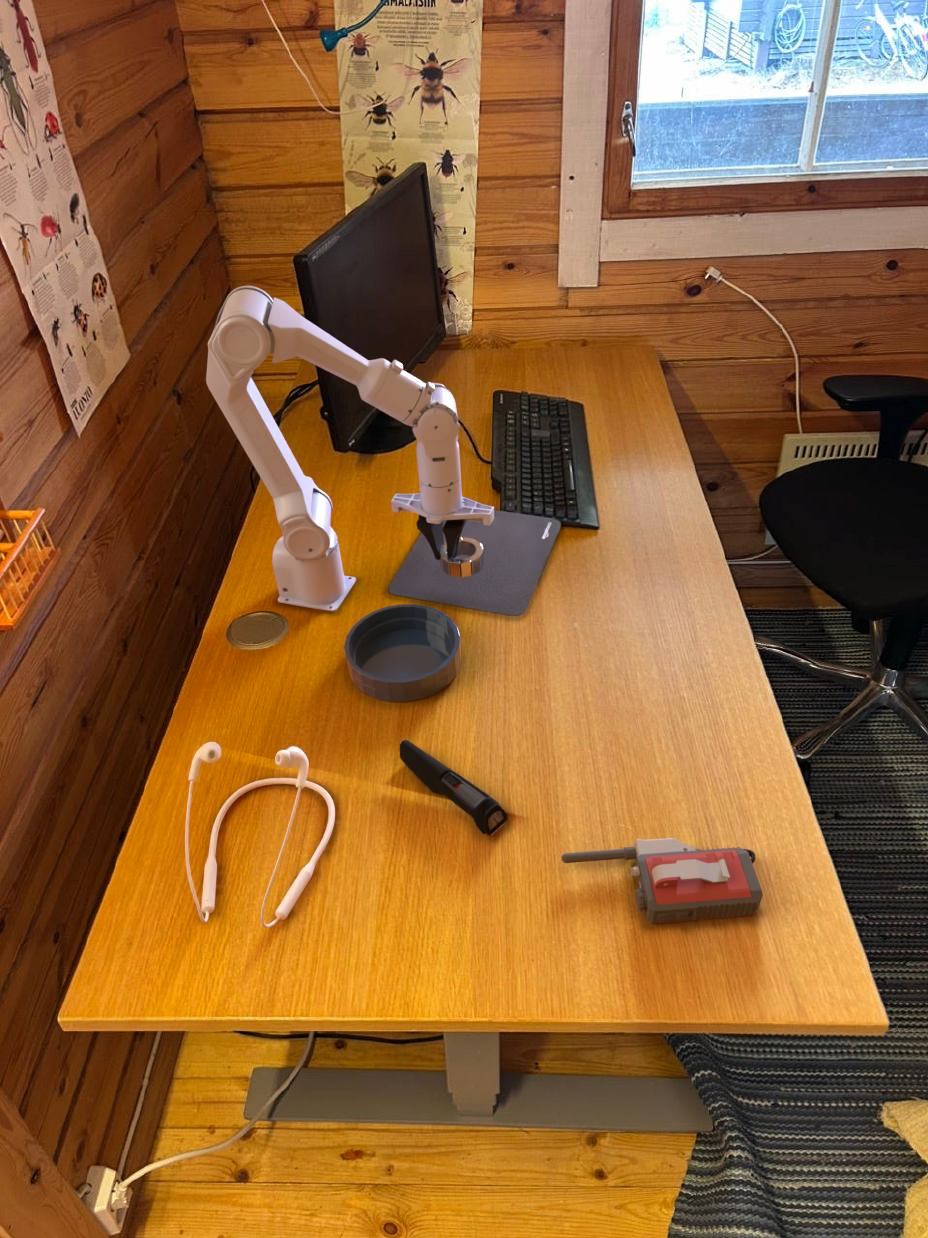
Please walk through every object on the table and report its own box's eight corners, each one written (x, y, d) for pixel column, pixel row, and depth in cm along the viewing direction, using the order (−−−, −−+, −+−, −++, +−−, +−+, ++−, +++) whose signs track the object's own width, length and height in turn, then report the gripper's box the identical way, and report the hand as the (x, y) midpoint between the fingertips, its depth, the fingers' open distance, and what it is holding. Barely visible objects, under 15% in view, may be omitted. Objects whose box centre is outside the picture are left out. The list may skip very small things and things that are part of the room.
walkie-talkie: (745, 842, 92) (559, 856, 92) (752, 817, 90) (560, 832, 89) (771, 917, 86) (572, 933, 86) (780, 893, 83) (573, 909, 83)
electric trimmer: (417, 747, 105) (414, 730, 103) (510, 819, 96) (509, 801, 94) (393, 765, 103) (390, 748, 101) (486, 840, 94) (485, 822, 92)
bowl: (330, 692, 112) (325, 670, 110) (374, 617, 123) (370, 596, 121) (440, 714, 109) (438, 692, 106) (475, 635, 119) (474, 614, 117)
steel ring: (435, 573, 124) (433, 559, 122) (448, 548, 128) (447, 534, 127) (476, 580, 123) (475, 565, 121) (488, 554, 127) (487, 540, 125)
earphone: (158, 926, 84) (176, 740, 87) (222, 897, 100) (237, 741, 103) (293, 937, 82) (308, 747, 85) (336, 906, 99) (348, 748, 101)
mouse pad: (522, 619, 121) (522, 617, 121) (384, 594, 127) (384, 593, 127) (563, 520, 139) (563, 519, 139) (440, 502, 144) (440, 501, 144)
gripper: (379, 485, 116) (389, 565, 125) (482, 499, 112) (485, 580, 121) (397, 458, 121) (406, 537, 130) (497, 470, 117) (499, 551, 126)
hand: (446, 556), depth 125 cm, fingers closed on steel ring
